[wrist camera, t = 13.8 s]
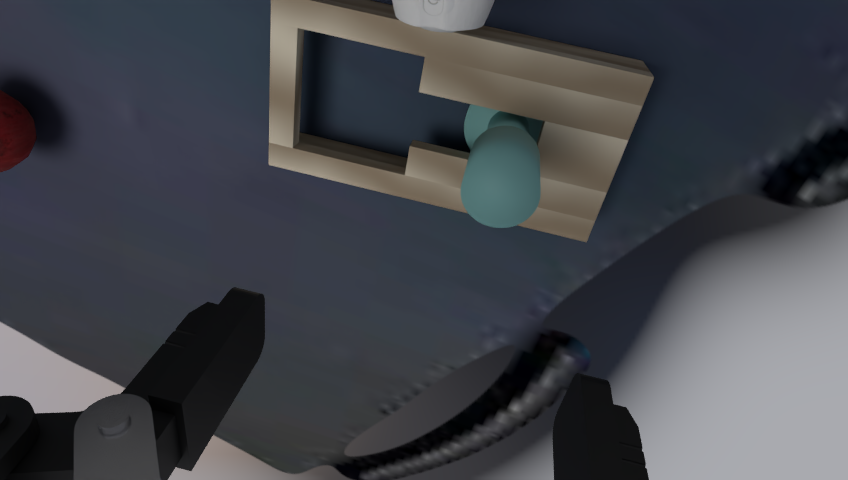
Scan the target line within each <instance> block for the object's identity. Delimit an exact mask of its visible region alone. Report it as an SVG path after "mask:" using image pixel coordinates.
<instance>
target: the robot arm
mask: <svg viewBox="0 0 848 480" xmlns="http://www.w3.org/2000/svg"><path fill="white" fill-rule="evenodd" d="M264 340H265V298H264V295H263V294H260V293H256V292H252V291H248V290H244V289H240V288H236V287H234V288H232V289H231V290H230V291H229V292H228V293H227V294H226V296H225V297H224V298H223V300H222V301H221V302H220V303H219V305H218V304H214V303H210V302H207V303H205V304H203V305H202V306H200V307H198V308H197V309H195V310H193V311H192V312H190V313H189V314H188V315H187V316H186V317H185V318H184V320H183V321H182V322H181V323H180V324H179V325H178V327H177V328H176V331H175V332H174V331H173V333H172V334H171V335H170V336H169V337H168V339H167V340H166V342H165V344H163V345H162V346H161V347H160V348H159V349H158V351H157V352H156V353H155V354H154V355H153V356H152V358H151V359H150V360H149V361H148V362H147V364H146V365H145V366H144V367H143V368H142V370H141V371H140V372H139V373H138V374H137V376H136V377H135V378H134V379H133V380H132V381H131V383H130V384H129V385H128V386H127V387H126V389H125V390H124V391H123V392H122V393H121V394H117V395H112V396H108V397H105V398H103V399H101V400H99V401H97V402H95V403H93V404H92V405H90V406H89V407H88V408H87V409H86V410H84V411H81V412H65V413H37V414H35V413H34V410H33V408H32V406H31V405H30V403H29V402H28V401H26V400H25V399H23V398H20V397H16V396H0V480H168V478H169V477H170V475H171V473H172V472H173V470H174V469H175V467H178V468H181V469H185V470H189V471H192V469H193V467H194V466H195V464H196V462H197V461H198V459H199V457H200V455H201V454H202V452H203V451H204V449H205V447H206V446H207V444H208V442H209V441H210V439H211V437H212V436H213V434H214V432H215V431H216V429H217V427H218V426H219V424H220V422H221V421H222V419H223V418H224V416H225V414H226V413H227V411H228V409H229V408H230V406H231V404H232V403H233V401H234V399H235V398H236V396H237V394H238V393H239V391H240V389H241V388H242V386H243V384H244V383H245V381H246V379H247V378H248V376H249V374H250V373H251V371H252V369H253V368H254V366H255V364H256V363H257V361H258V359H259V357H260V355H261V352H262V349H263V345H264ZM553 459H554V480H649V478H648V473H647V469H646V468H645V458H644V453H643V452H642V443H641V438H640V433H639V428H638V426H637V424H636V423H635V421H634V419H633V418H632V416H631V414H630V413H629V411H628V410H627V408H626V407H622V406H618V405H614V404H613V400H612V394H611V388H610V384H609V382H608V381H607V380H604V379H600V378H596V377H592V376H588V375H584V374H580V373H577V374H575V376H574V377H573V379H572V382H571V384H570V386H569V388H568V390H567V392H566V394H565V396H564V398H563V401H562V403H561V405H560V407H559V409H558V411H557V414H556V417H555V421H554V427H553Z"/></svg>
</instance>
